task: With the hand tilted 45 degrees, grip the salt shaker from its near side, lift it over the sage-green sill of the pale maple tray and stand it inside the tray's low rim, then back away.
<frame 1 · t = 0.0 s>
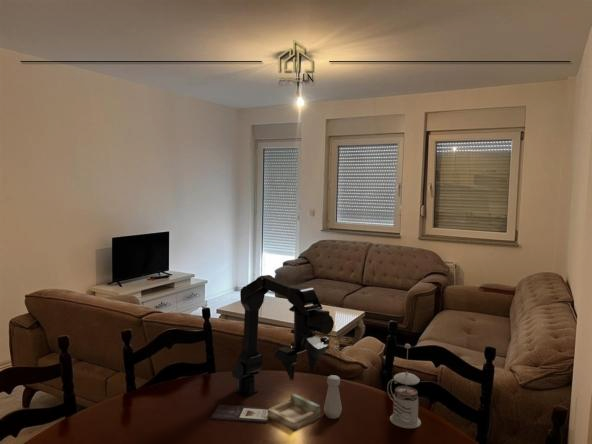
hand: (302, 375, 135), 15 cm above the table, tool pointing down, fingers open, 9 cm apart
chocolate bar: (241, 416, 140), on the table
french press: (402, 419, 138), on the table
salt shaker: (332, 416, 140), on the table
maple tray: (293, 417, 138), on the table
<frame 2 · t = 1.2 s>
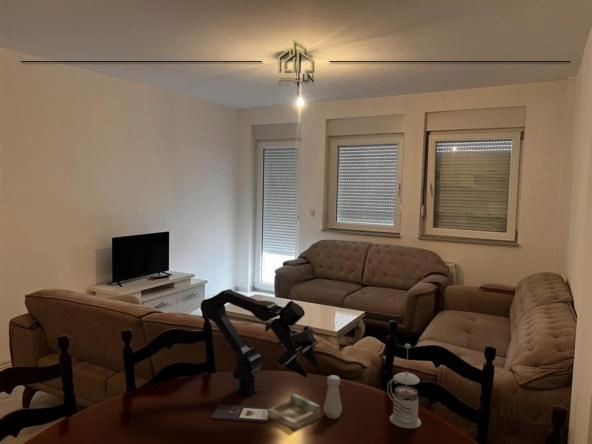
hand: (312, 371, 142), 13 cm above the table, tool tilted 45°, fingers open, 9 cm apart
nothing on the table moved.
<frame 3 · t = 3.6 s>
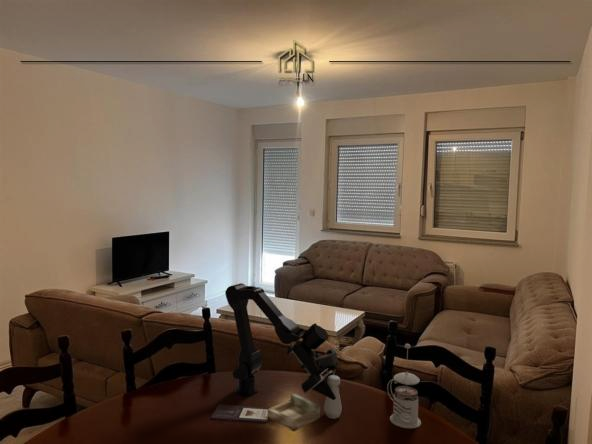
hand: (337, 396, 139), 7 cm above the table, tool tilted 45°, fingers closed on salt shaker, 3 cm apart
salt shaker: (332, 416, 140), on the table, touching gripper
everything else where it was.
when the fingers open (8 cm above the table, at t = 6.5 s): salt shaker stays where it is, resting on maple tray.
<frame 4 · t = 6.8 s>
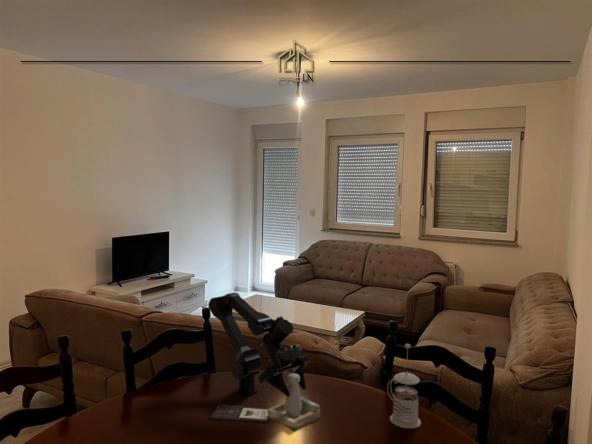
hand: (297, 392, 137), 9 cm above the table, tool tilted 45°, fingers open, 7 cm apart
salt shaker: (293, 415, 138), point 1 cm above the table, touching maple tray
everything else where it was.
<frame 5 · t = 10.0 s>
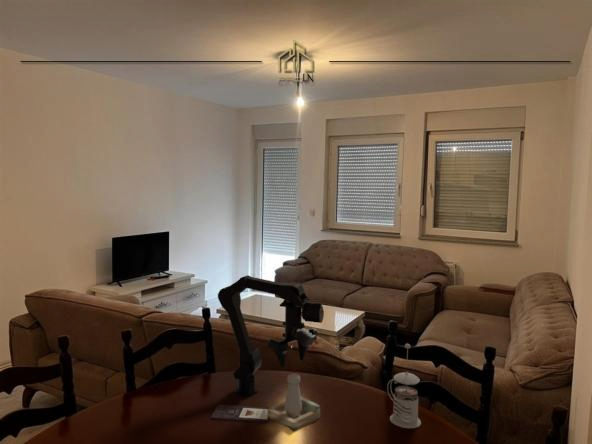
hand: (292, 363, 150), 13 cm above the table, tool pointing down, fingers open, 9 cm apart
nothing on the table moved.
at the end: salt shaker inside the target area on the maple tray (0.3 cm from its centre), point 0.6 cm above the maple tray's base; salt shaker tilted 0°; the gripper is holding nothing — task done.
